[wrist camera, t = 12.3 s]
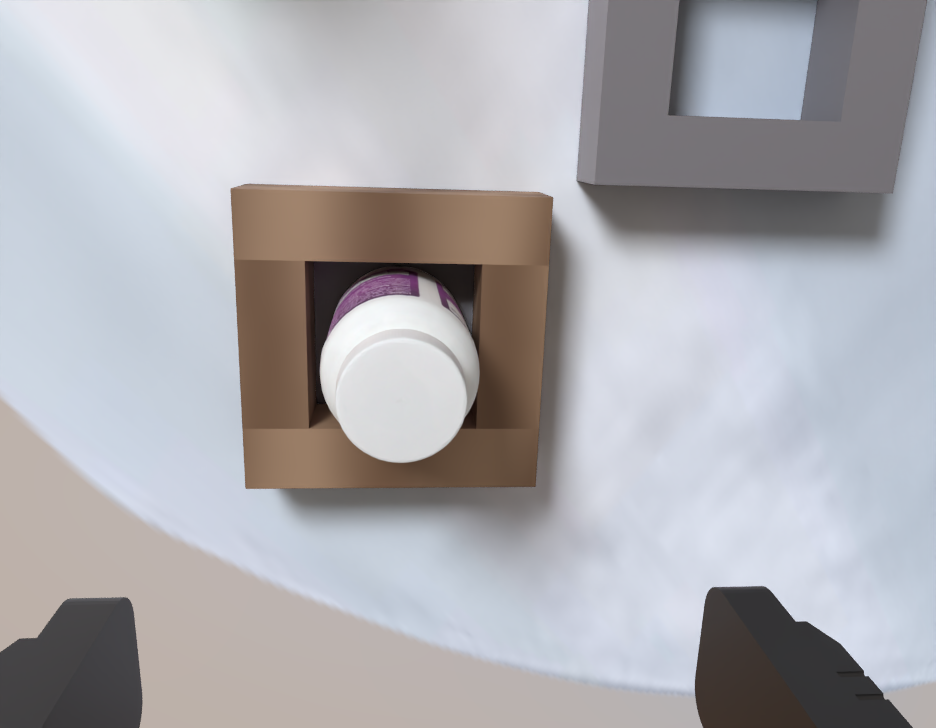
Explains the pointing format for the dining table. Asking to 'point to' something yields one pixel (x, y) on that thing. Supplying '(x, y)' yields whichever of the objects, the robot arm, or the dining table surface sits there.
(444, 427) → the pill bottle
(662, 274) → the dining table surface
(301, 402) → the dock
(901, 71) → the grey square frame
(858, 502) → the dining table surface
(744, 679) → the robot arm
